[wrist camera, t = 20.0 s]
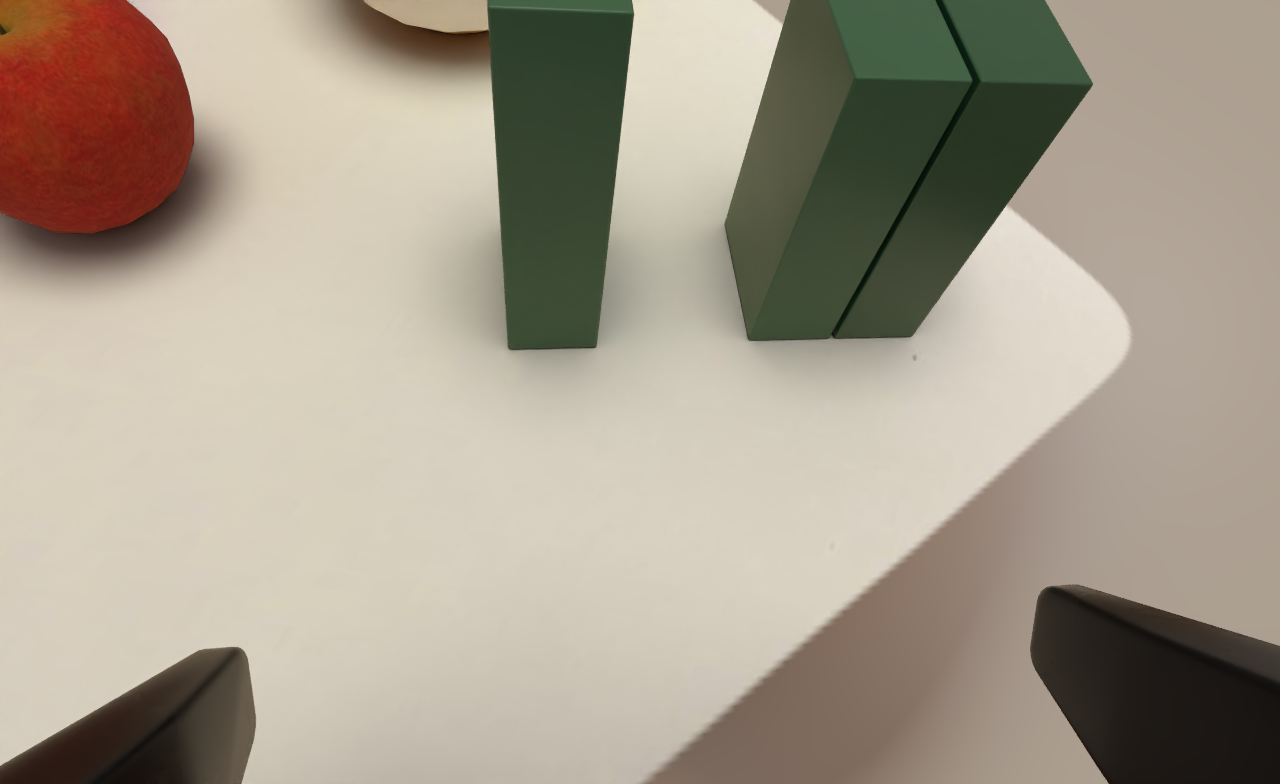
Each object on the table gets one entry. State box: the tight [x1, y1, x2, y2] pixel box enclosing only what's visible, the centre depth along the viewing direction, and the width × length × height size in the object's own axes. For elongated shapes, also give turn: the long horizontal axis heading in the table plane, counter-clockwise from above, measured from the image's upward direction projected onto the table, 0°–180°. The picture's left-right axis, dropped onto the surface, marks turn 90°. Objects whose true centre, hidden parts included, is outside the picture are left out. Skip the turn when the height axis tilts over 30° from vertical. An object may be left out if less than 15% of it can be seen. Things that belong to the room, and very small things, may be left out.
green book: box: [487, 0, 634, 349], centre depth 23 cm, size 6×3×12 cm, turn 6°
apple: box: [0, 0, 194, 233], centre depth 25 cm, size 8×8×8 cm
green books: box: [725, 0, 1093, 340], centre depth 25 cm, size 6×6×11 cm
